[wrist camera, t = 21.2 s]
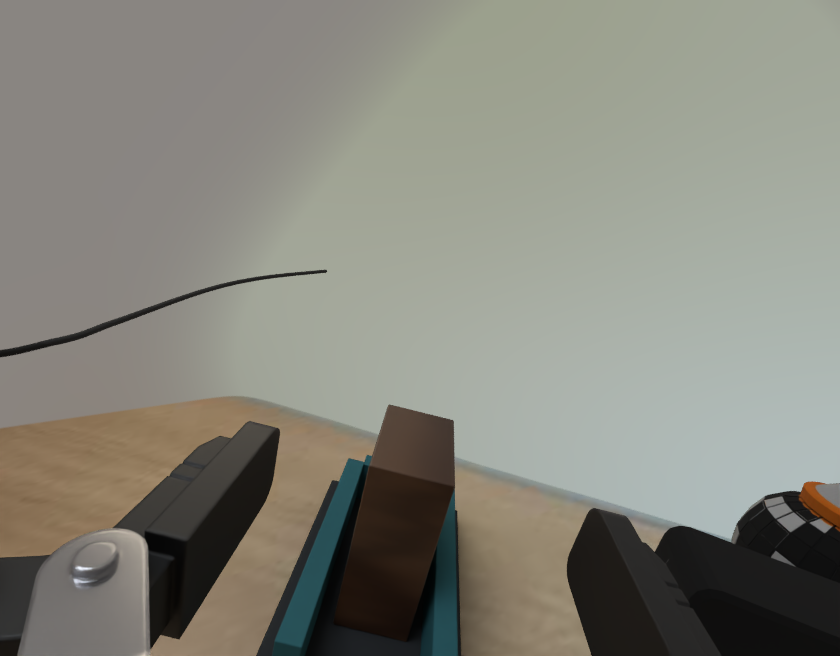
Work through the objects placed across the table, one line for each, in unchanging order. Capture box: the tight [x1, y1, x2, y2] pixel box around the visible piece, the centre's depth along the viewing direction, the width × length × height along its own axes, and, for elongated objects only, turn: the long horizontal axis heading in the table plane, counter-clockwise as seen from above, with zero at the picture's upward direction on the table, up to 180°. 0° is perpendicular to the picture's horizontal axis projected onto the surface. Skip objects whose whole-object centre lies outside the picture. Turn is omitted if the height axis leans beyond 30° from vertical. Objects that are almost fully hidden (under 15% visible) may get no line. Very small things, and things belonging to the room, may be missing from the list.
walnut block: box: [333, 405, 455, 642], centre depth 22 cm, size 4×6×10 cm, turn 176°
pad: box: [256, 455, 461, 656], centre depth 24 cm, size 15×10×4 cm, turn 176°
